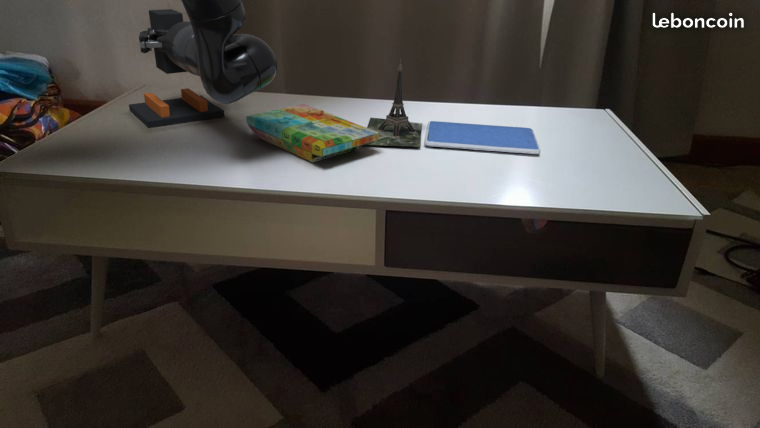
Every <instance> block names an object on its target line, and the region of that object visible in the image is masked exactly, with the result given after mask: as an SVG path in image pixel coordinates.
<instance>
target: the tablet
mask: <svg viewBox="0 0 760 428" xmlns="http://www.w3.org/2000/svg"><path fill="white" fill-rule="evenodd" d="M423 145H424V146H426V147H433V148H434V147H435V148H446V149H447V148H449V149H461V150H474V151H488V152H489V151H490V152H503V153H516V154H517V153H518V154H531V155H539V154H541V148H540V145H539V143H538V139H537V137H536V133H535V132H534V129H532V128H530V127H523V126H522V127H521V126H505V125H494V124H493V125H492V124H481V123H479V124H478V123H463V122H450V121H439V120H438V121H437V120H436V121H435V120H431V121H430V120H429V121H428V122H427V126H426V132H425V137H424V143H423Z"/></svg>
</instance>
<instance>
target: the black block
mask: <svg viewBox="0 0 760 428" xmlns="http://www.w3.org/2000/svg"><path fill="white" fill-rule="evenodd" d="M148 16H149V17H148V18H149V24H150V28H153V29H155V30H160V29H166V30H169V29H170V28H171V27H172V26H174V25H175V24H177V23H179V22H184V15H183V13H182V12H180V11H178V10H175V9H172V8H169V9H168V8H167V9H166V8H165V9H148ZM153 52H154V59H155V66H156V68H157V69H159V70H160V71H162V72H163V73H165V74H167V75H170V74H180V73H189V72H188V71H186V70H184V69H183V68H181V67H179V66H178V65H176V64H174V63H173V62H172V61H171V60H170V59H169V57H168V56H167V54H166V53H165V52H162V51H159V50H158V48H153Z"/></svg>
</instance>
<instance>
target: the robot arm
mask: <svg viewBox="0 0 760 428" xmlns="http://www.w3.org/2000/svg"><path fill="white" fill-rule="evenodd" d="M180 1H181V3H182V5H183V8H184V10H185V12H186V15H187V17H188V21H186V20H183V22H179V23H177V24H175V25H174V26H172V27H171V28H170V29H169V30H166V29H160V30H155V29H153V28H151V27H147V30H142V31H140V32H139V34H138V41H139V48H140V53H142V54H147V53H149V52H152V51H153V49H154V48H158V50H159V51H162V52H165V53H166V54H167V56H168V57H169V59H170V60H171V61H172V62H173V63H174V64H176V65H178V66H179V67H181V68H183V69H184V70H186V71H188V72H187V73H190V74H191V75H194V76H197V77H199V79H200V82H201V84H202V87H203V89H204V91H205V92H206V94H207V95H208V96H209V97H210V98H211V99H212V100H213V101H215V102H216V103H219V104H222V105H231V104H234V103H236V102H238V101H240V100H242V99H243V98H245V97H247V96H249V95H251V94H252V93H254V92H256V91H258V90H260V89H262V88H264V87H266V86H268V85H269V84H270V83H271V82H272V81H273V80H274V78H275V77H276V75H277V72H278V60H277V57H276V55H275V53H274V51H273V49H272V48H271V47H270V46H269V45H268V43H266V42H265V40H262V39H261V38H259V37H257V36H255V35H253V34H248V33H237V32H238V31H240V30H241V29H242V28H243V26H244V24H245V22H246V17H247V15H246V11H245V8H244V4H243V2H242V0H180Z"/></svg>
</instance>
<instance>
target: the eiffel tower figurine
mask: <svg viewBox="0 0 760 428" xmlns="http://www.w3.org/2000/svg"><path fill="white" fill-rule="evenodd" d="M401 61H402V59H401V58H400V61H399V63H400V64H399V65H397V79H396V85H395V86H396V87H395V93H394V99H393V101H392V103H391V104H392V106H391V109H390V110H389V112H388V114H386V116H385V118H380V117H370V118H369V120H368V124H367V126H366V128H368V129H371V130H373V131H376V132H379V133H380V138H379V140H377V141H374V142H370V143H367V144H363V145H365V146H385V147H386V146H387V147H389V146H390V147H415V148H416V147H417V148H420V146H421V140H422V127H423V123H421V122H412V121H410V120H409V116H407V114H406V111H405V107H404V104H405V103H404V101H403V81H402V80H403V78H402V77H403V74H402V73H403V65H402V63H401ZM363 145H362V146H363Z"/></svg>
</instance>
